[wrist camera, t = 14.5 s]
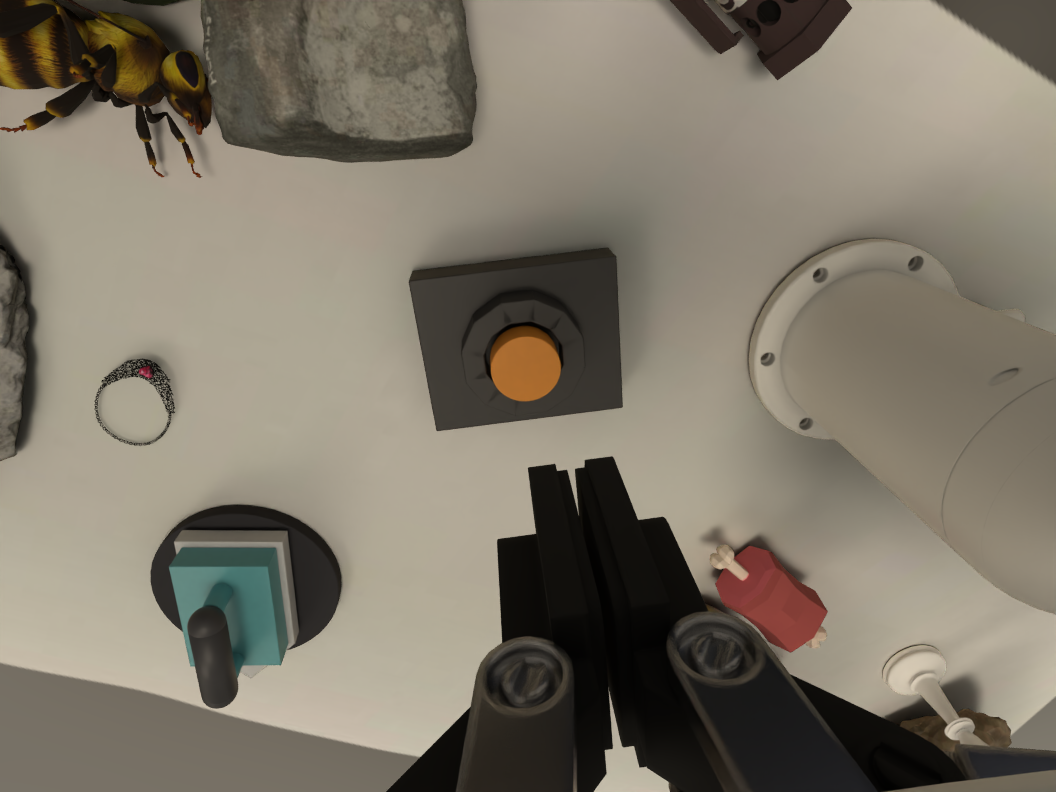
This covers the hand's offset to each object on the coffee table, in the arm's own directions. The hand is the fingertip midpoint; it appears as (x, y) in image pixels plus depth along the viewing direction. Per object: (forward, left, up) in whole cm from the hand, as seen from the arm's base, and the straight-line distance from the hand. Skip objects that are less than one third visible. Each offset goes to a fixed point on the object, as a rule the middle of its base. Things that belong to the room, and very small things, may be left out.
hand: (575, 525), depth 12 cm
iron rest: (+20, +20, -25) cm, 38 cm away
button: (0, +5, -21) cm, 22 cm away
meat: (-13, +27, -22) cm, 37 cm away
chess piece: (-29, +38, -25) cm, 54 cm away
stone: (+6, -20, -25) cm, 32 cm away
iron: (+20, +21, -24) cm, 37 cm away
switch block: (0, +5, -25) cm, 25 cm away
